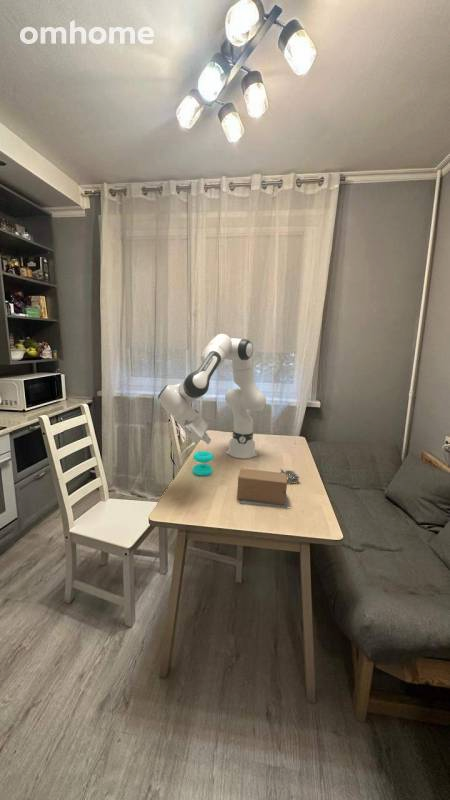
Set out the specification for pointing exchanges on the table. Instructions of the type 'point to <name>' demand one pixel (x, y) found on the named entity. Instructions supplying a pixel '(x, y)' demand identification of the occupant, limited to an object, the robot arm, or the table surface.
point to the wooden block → (262, 486)
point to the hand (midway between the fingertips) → (209, 442)
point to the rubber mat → (265, 503)
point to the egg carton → (291, 476)
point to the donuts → (203, 458)
